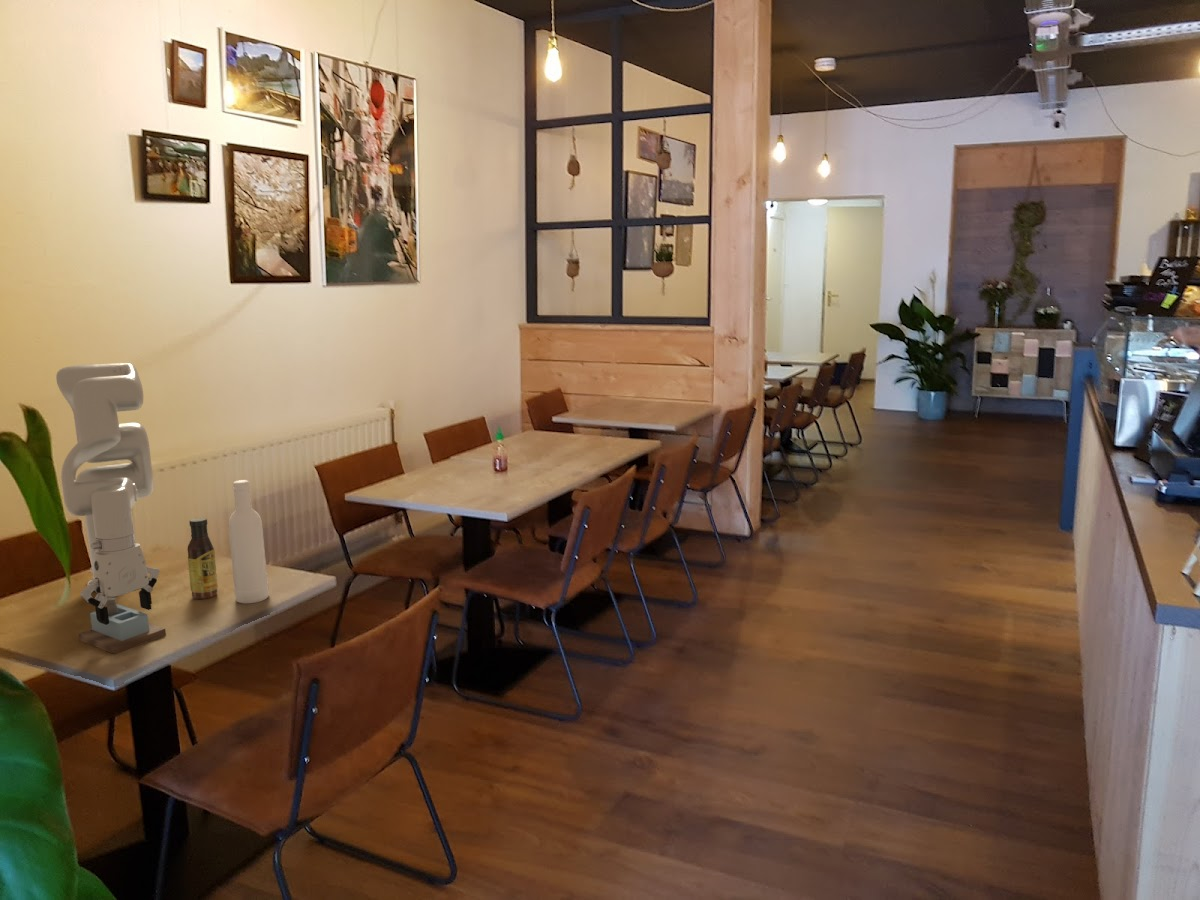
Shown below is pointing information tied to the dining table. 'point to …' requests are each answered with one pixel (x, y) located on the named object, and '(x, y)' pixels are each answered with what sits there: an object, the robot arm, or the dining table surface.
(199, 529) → the sauce bottle
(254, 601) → the bottle
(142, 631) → the hollow blue brick
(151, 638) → the post block
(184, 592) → the dining table surface
